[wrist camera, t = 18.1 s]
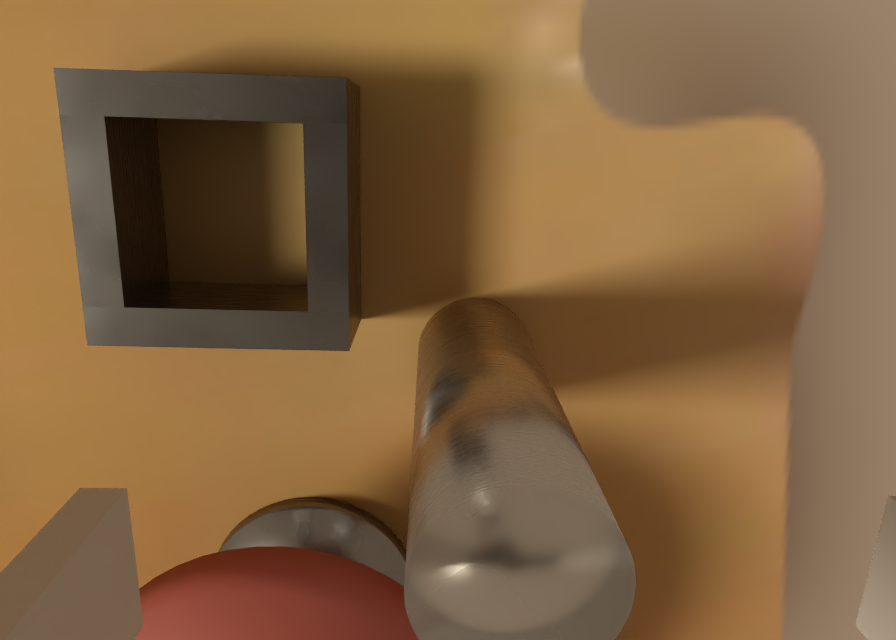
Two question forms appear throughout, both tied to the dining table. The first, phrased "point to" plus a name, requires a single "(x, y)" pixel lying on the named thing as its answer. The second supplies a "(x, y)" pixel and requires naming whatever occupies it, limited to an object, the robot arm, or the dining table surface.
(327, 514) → the silver curved piece
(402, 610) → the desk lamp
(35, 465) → the dining table surface
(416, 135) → the dining table surface
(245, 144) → the dining table surface
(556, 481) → the peg
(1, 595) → the robot arm
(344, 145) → the collar
